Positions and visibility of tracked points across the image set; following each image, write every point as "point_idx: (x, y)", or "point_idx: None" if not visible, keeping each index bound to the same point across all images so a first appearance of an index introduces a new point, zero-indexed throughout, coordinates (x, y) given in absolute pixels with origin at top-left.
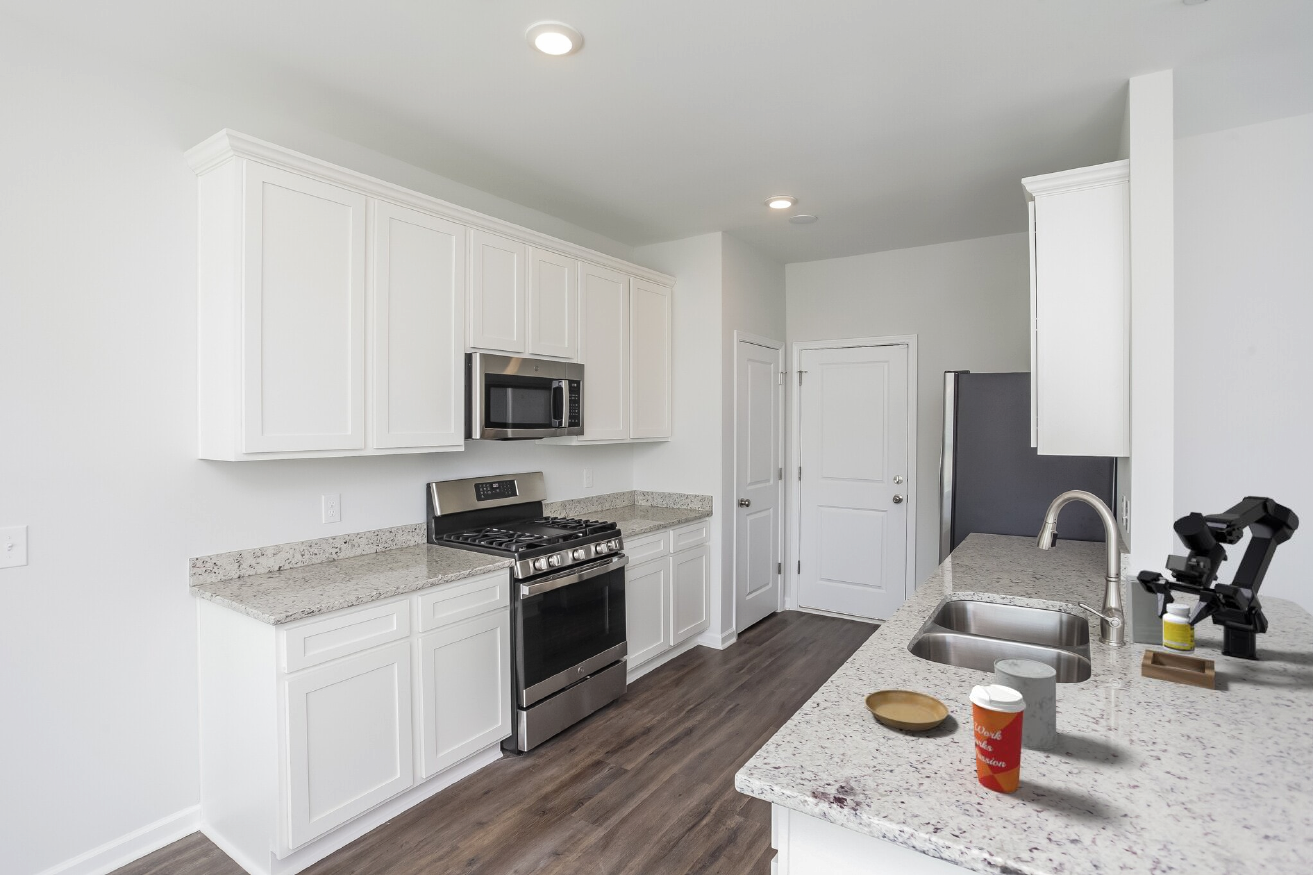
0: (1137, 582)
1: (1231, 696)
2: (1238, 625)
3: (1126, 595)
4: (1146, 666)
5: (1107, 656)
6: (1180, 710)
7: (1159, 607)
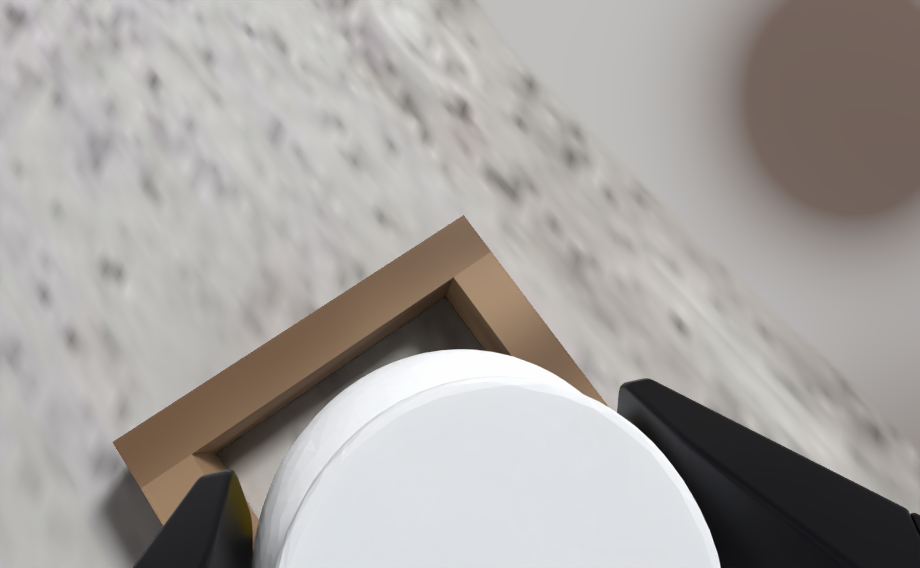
0: None
1: (36, 435)
2: None
3: None
4: (440, 230)
5: (758, 345)
6: (52, 3)
7: (756, 449)
